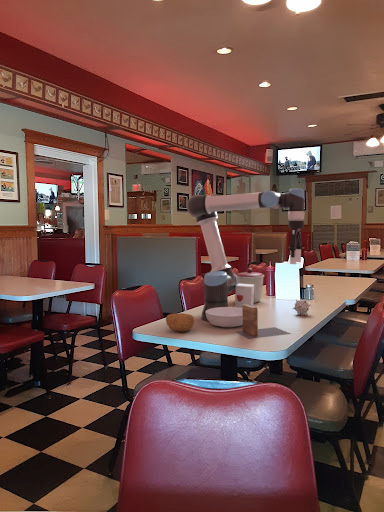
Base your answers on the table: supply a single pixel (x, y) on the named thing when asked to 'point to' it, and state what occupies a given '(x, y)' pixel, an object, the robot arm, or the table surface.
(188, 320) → the potato
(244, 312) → the wooden block
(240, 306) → the supplement box
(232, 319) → the serving bowl
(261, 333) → the rubber mat
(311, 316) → the table surface
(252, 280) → the canister
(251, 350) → the table surface
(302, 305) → the game die
